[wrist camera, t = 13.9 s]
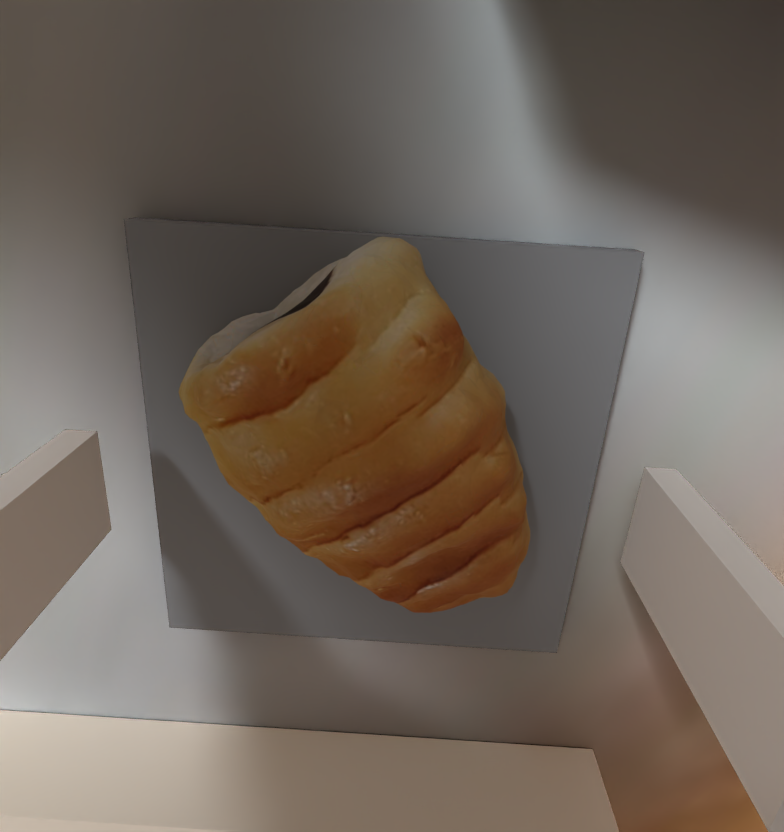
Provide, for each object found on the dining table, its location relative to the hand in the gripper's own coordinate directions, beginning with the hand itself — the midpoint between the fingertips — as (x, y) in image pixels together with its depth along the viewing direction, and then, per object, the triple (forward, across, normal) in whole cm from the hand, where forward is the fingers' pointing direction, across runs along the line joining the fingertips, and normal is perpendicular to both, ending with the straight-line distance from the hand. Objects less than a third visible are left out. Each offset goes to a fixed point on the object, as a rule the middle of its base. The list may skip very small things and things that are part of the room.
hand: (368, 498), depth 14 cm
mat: (+2, 0, 0) cm, 2 cm away
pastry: (+2, 0, +2) cm, 2 cm away
